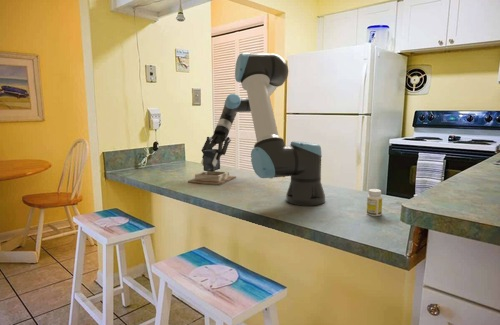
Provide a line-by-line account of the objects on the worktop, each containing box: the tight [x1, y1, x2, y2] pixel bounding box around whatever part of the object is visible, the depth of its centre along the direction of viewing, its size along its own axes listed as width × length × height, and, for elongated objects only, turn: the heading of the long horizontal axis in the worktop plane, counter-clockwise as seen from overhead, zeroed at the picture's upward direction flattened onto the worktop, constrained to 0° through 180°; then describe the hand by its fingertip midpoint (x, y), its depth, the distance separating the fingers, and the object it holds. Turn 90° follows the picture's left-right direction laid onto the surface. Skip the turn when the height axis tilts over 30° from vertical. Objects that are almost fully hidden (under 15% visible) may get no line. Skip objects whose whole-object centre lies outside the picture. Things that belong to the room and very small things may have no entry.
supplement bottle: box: [366, 188, 383, 217], centre depth 113 cm, size 5×5×8 cm
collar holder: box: [187, 170, 237, 186], centre depth 171 cm, size 18×18×4 cm
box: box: [202, 148, 221, 172], centre depth 170 cm, size 8×6×11 cm
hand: (208, 164), depth 167 cm, fingers closed on box, 6 cm apart
